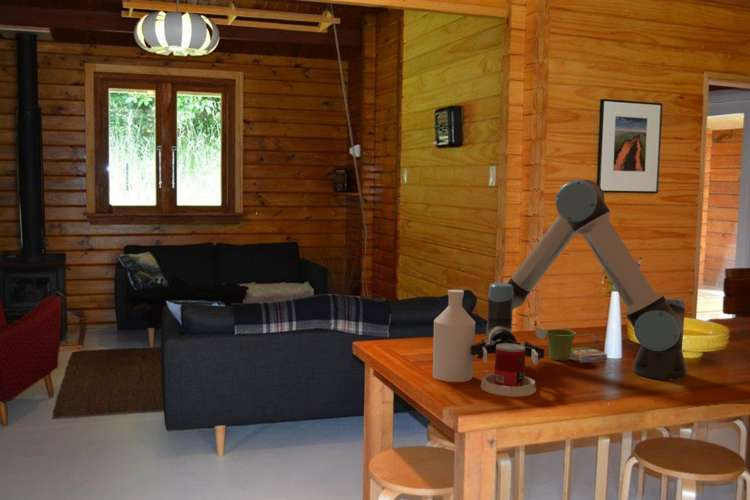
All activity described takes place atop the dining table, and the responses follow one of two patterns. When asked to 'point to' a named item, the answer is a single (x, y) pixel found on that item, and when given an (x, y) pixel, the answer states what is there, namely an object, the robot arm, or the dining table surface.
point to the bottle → (453, 341)
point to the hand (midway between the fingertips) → (511, 358)
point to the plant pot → (560, 343)
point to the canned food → (509, 364)
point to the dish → (508, 387)
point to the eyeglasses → (542, 334)
